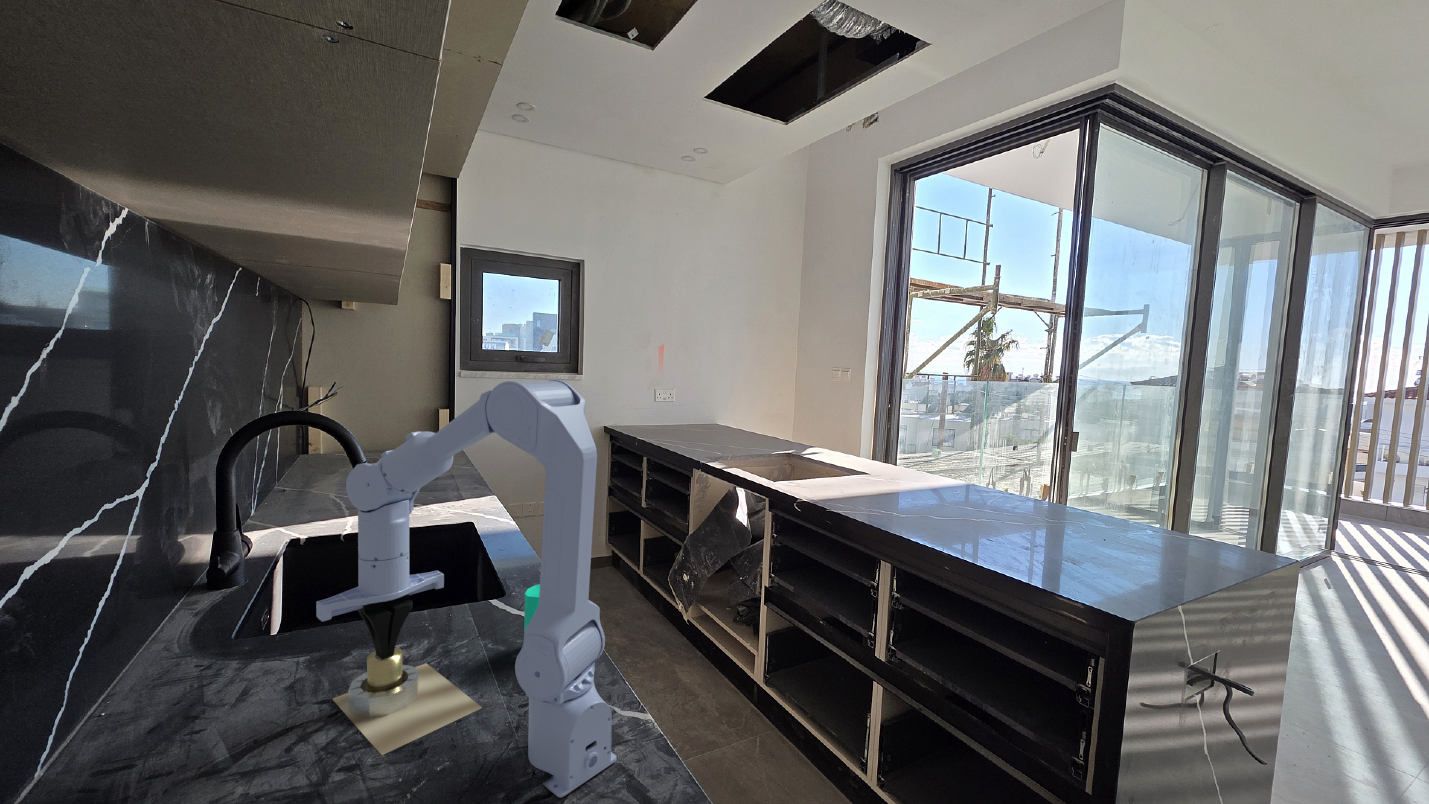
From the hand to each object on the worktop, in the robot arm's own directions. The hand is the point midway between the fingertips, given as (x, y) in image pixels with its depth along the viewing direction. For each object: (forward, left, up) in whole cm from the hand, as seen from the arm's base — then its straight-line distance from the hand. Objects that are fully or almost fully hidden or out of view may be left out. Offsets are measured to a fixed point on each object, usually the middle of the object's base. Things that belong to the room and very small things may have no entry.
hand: (384, 655), depth 74 cm
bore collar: (0, 0, -7) cm, 7 cm away
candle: (-4, -22, -7) cm, 23 cm away
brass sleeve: (0, 0, -6) cm, 6 cm away
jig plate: (-3, -2, -7) cm, 8 cm away
